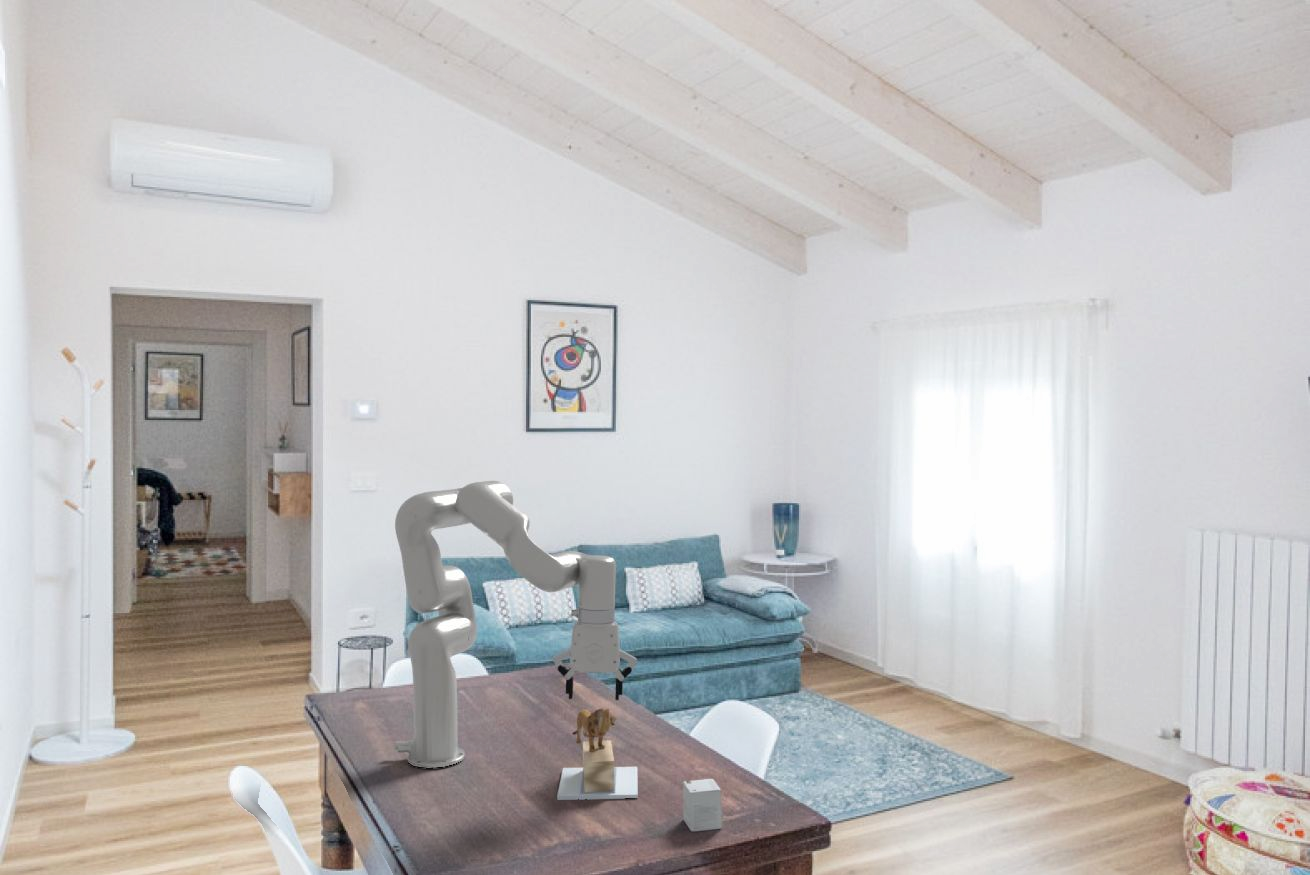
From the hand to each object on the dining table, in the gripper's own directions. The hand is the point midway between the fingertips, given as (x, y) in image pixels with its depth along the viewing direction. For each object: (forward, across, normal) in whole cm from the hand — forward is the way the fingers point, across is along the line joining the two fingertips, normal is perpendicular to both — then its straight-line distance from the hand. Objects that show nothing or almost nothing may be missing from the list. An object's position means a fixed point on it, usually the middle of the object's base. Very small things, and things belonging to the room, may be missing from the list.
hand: (594, 697), depth 205 cm
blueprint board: (+18, +2, -1) cm, 18 cm away
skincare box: (+17, +22, -22) cm, 35 cm away
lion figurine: (+11, 0, +3) cm, 12 cm away
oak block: (+17, +1, -1) cm, 17 cm away
